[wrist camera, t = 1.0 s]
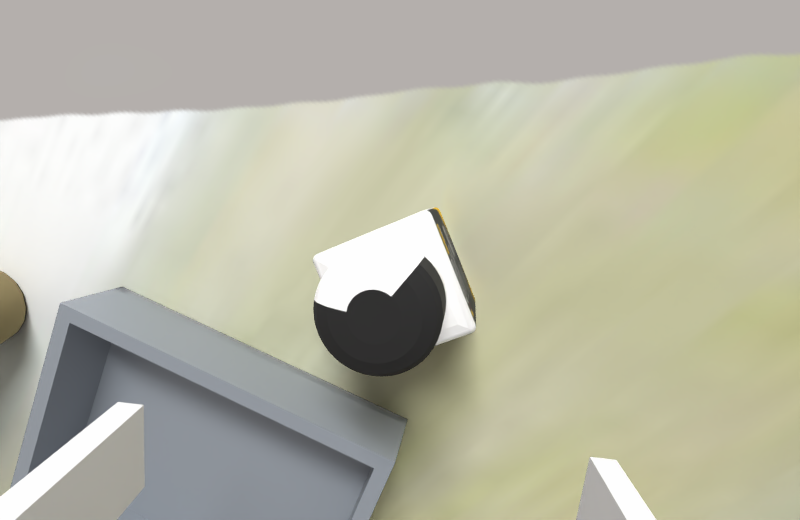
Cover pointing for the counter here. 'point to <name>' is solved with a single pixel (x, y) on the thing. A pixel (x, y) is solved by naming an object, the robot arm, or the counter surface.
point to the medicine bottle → (392, 296)
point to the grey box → (209, 417)
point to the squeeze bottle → (10, 307)
